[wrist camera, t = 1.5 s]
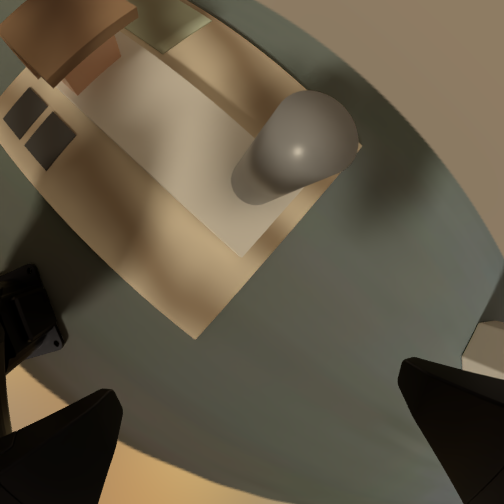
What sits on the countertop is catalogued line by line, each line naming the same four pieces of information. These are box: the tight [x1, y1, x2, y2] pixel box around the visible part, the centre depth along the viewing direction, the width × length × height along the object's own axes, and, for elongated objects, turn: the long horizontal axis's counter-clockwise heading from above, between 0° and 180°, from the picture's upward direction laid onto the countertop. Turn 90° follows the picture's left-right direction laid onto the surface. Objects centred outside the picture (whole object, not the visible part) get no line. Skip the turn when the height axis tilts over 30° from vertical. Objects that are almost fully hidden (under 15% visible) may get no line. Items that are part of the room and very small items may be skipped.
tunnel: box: [0, 0, 139, 89], centre depth 13 cm, size 6×8×7 cm
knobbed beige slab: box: [56, 31, 359, 257], centre depth 12 cm, size 6×20×10 cm, turn 48°
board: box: [0, 0, 362, 340], centre depth 18 cm, size 18×25×1 cm
